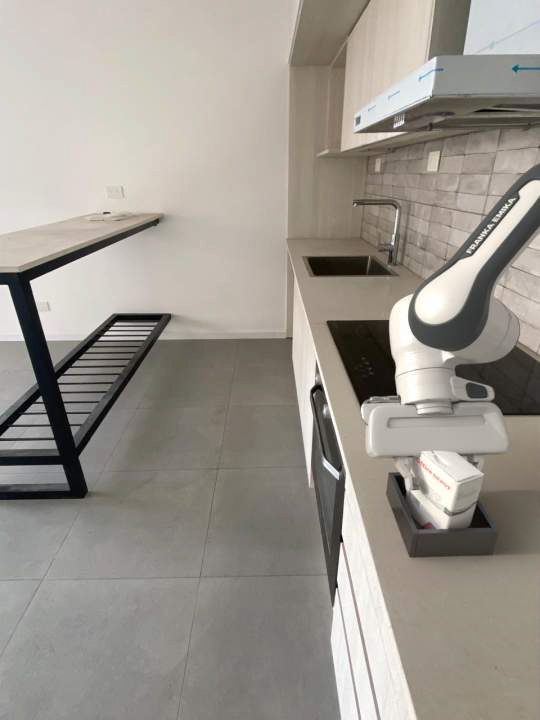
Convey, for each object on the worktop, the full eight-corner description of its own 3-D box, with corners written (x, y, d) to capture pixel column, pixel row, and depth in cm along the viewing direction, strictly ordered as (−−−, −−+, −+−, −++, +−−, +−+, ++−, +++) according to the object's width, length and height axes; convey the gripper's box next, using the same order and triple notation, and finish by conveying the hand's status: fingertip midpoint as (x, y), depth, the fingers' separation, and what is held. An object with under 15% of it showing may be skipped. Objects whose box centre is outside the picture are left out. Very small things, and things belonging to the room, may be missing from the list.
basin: (455, 491, 65) (460, 470, 63) (492, 555, 54) (499, 531, 52) (385, 493, 65) (388, 472, 63) (409, 557, 54) (413, 533, 52)
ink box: (470, 538, 57) (487, 473, 51) (442, 550, 55) (457, 484, 50) (427, 496, 64) (438, 436, 59) (401, 506, 62) (411, 445, 57)
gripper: (364, 391, 58) (375, 491, 53) (504, 387, 58) (527, 486, 53) (356, 401, 64) (365, 492, 59) (483, 397, 63) (502, 488, 59)
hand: (443, 489), depth 56 cm, fingers open, 7 cm apart
